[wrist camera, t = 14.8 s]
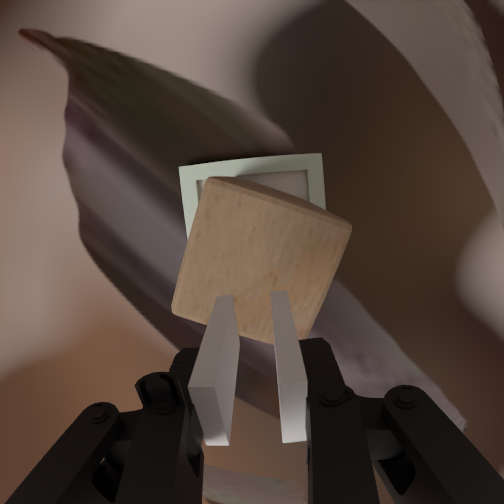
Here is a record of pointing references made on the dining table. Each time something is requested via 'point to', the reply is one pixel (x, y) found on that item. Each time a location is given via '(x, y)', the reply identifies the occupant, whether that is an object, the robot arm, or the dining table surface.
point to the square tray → (257, 178)
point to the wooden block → (258, 255)
